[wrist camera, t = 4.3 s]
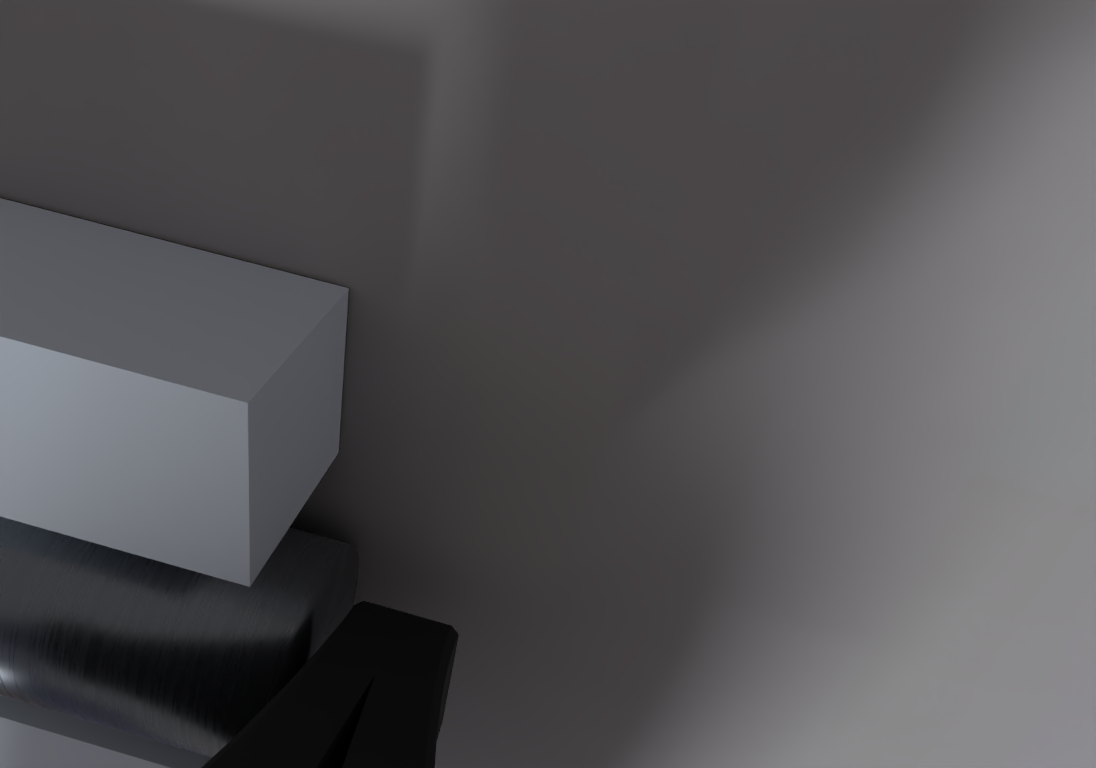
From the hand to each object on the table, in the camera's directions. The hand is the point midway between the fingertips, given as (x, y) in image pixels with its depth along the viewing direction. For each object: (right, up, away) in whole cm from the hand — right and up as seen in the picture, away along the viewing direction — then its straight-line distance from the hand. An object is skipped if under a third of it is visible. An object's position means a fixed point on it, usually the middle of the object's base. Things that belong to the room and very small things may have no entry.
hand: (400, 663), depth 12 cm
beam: (-4, +2, +1) cm, 4 cm away
